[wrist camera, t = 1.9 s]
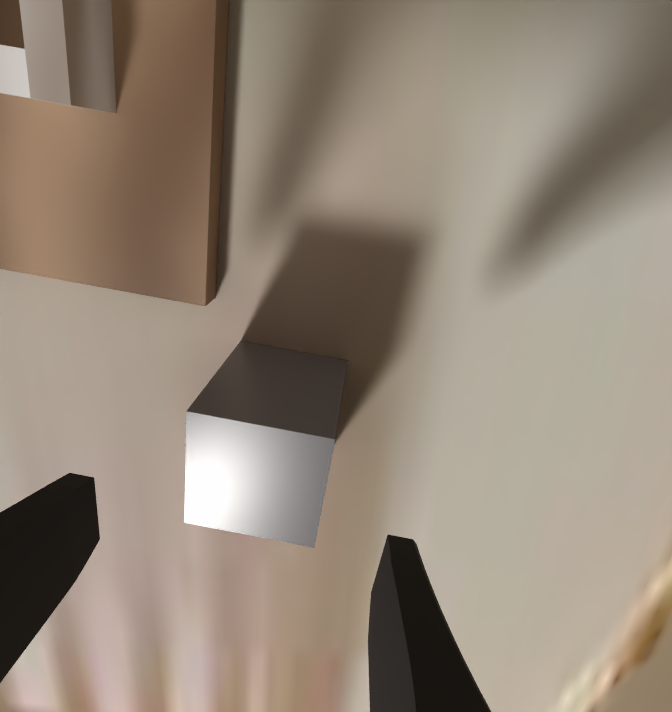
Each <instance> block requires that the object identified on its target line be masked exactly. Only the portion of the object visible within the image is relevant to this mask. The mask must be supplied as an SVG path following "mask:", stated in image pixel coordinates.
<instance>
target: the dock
mask: <svg viewBox="0 0 672 712" xmlns="http://www.w3.org/2000/svg"><path fill="white" fill-rule="evenodd" d="M228 14H229V0H0V269H5V270H11V271H16V272H22V273H27V274H32V275H38V276H43V277H49V278H54V279H60V280H65V281H71V282H76V283H81V284H87V285H92V286H98V287H103V288H109V289H114V290H120V291H125V292H131V293H136V294H141V295H147V296H152V297H158V298H163V299H169V300H174V301H180V302H185V303H191V304H196V305H201V306H206V305H207V304H208V303H210V302H211V301H212V300H213V299H214V298H216V276H217V254H218V232H219V211H220V189H221V167H222V145H223V123H224V101H225V79H226V57H227V36H228Z"/></svg>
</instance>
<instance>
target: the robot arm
mask: <svg viewBox="0 0 672 712" xmlns="http://www.w3.org/2000/svg"><path fill="white" fill-rule="evenodd" d="M99 540H100V536H99V525H98V515H97V504H96V493H95V482H94V478H93V477H88V476H83V475H78V474H73V473H69V474H67V475H65V476H63V477H61V478H59V479H58V480H56V481H54V482H52V483H51V484H49V485H47V486H45V487H44V488H42V489H40V490H38V491H37V492H35V493H33V494H32V495H30V496H28V497H26V498H25V499H23V500H21V501H20V502H18V503H16V504H14V505H13V506H11V507H9V508H7V509H6V510H4V511H2V512H0V683H1V681H2V680H3V678H4V677H5V676H6V674H7V673H8V672H9V670H10V669H11V668H12V666H13V665H14V664H15V662H16V661H17V660H18V658H19V657H20V656H21V654H22V653H23V652H24V650H25V649H26V648H27V646H28V645H29V644H30V642H31V641H32V639H33V638H34V637H35V635H36V634H37V633H38V631H39V630H40V629H41V627H42V626H43V625H44V623H45V622H46V621H47V619H48V618H49V617H50V615H51V614H52V613H53V611H54V610H55V608H56V607H57V606H58V604H59V603H60V602H61V600H62V599H63V598H64V596H65V595H66V593H67V592H68V591H69V589H70V588H71V587H72V585H73V584H74V582H75V581H76V579H77V578H78V576H79V574H80V573H81V571H82V569H83V568H84V566H85V564H86V563H87V561H88V559H89V557H90V556H91V554H92V552H93V550H94V548H95V547H96V545H97V543H98V541H99ZM368 656H369V691H370V712H491V710H490V709H489V707H488V705H487V703H486V701H485V699H484V697H483V696H482V694H481V692H480V690H479V688H478V686H477V684H476V682H475V680H474V678H473V676H472V674H471V672H470V670H469V668H468V666H467V664H466V662H465V660H464V658H463V656H462V654H461V652H460V650H459V648H458V646H457V644H456V642H455V639H454V637H453V635H452V633H451V631H450V628H449V626H448V624H447V622H446V619H445V617H444V615H443V613H442V610H441V608H440V606H439V603H438V601H437V599H436V596H435V594H434V591H433V589H432V586H431V584H430V581H429V578H428V576H427V573H426V570H425V568H424V565H423V562H422V559H421V556H420V554H419V551H418V547H417V544H416V543H415V541H414V540H413V539H408V538H403V537H397V536H392V535H388V536H387V539H386V543H385V546H384V550H383V553H382V557H381V560H380V564H379V567H378V571H377V574H376V578H375V581H374V585H373V588H372V591H371V603H370V617H369V633H368Z"/></svg>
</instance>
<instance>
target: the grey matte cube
mask: <svg viewBox="0 0 672 712" xmlns="http://www.w3.org/2000/svg"><path fill="white" fill-rule="evenodd" d="M347 362H348V361H347V360H341V359H336V358H331V357H325V356H320V355H314V354H309V353H304V352H298V351H293V350H287V349H282V348H277V347H271V346H266V345H260V344H255V343H250V342H244V341H240V343H239V344H238V345H237V347H236V348H235V349H234V350H233V352H232V353H231V354H230V356H229V357H228V358H227V359H226V361H225V362H224V363H223V365H222V366H221V367H220V369H219V370H218V371H217V372H216V374H215V375H214V376H213V378H212V379H211V380H210V381H209V383H208V384H207V385H206V387H205V388H204V389H203V391H202V392H201V393H200V394H199V396H198V397H197V398H196V400H195V401H194V402H193V404H192V405H191V406H190V407H189V409H188V410H187V411H186V463H185V516H184V523H189V524H194V525H199V526H205V527H210V528H215V529H220V530H225V531H230V532H236V533H241V534H246V535H251V536H256V537H261V538H267V539H272V540H277V541H282V542H287V543H293V544H298V545H303V546H308V547H313V548H314V546H315V541H316V536H317V531H318V525H319V520H320V515H321V510H322V505H323V500H324V495H325V489H326V484H327V479H328V474H329V469H330V464H331V459H332V453H333V448H334V443H335V438H336V431H337V425H338V419H339V413H340V406H341V400H342V394H343V387H344V381H345V375H346V369H347Z"/></svg>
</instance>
